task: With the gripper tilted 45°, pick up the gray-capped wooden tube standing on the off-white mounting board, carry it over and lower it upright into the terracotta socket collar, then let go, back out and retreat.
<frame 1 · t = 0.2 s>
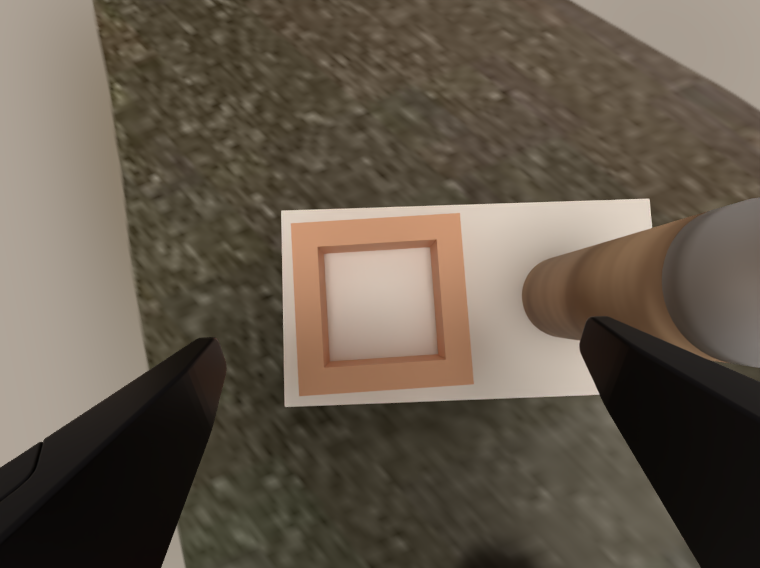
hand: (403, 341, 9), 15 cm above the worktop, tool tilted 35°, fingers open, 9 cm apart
mount board: (466, 300, 24), on the worktop
socket: (380, 303, 22), resting on mount board
gray-capped wooden tube: (562, 296, 22), point 1 cm above the worktop, touching mount board
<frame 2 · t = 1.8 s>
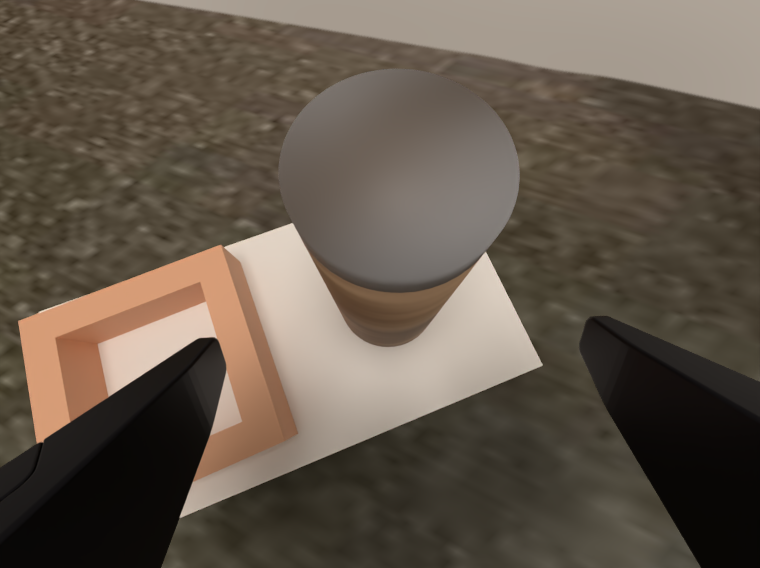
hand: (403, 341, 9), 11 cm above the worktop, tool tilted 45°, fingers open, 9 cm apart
mount board: (291, 341, 20), on the worktop
socket: (177, 379, 18), resting on mount board
gray-capped wooden tube: (387, 299, 19), point 1 cm above the worktop, touching mount board
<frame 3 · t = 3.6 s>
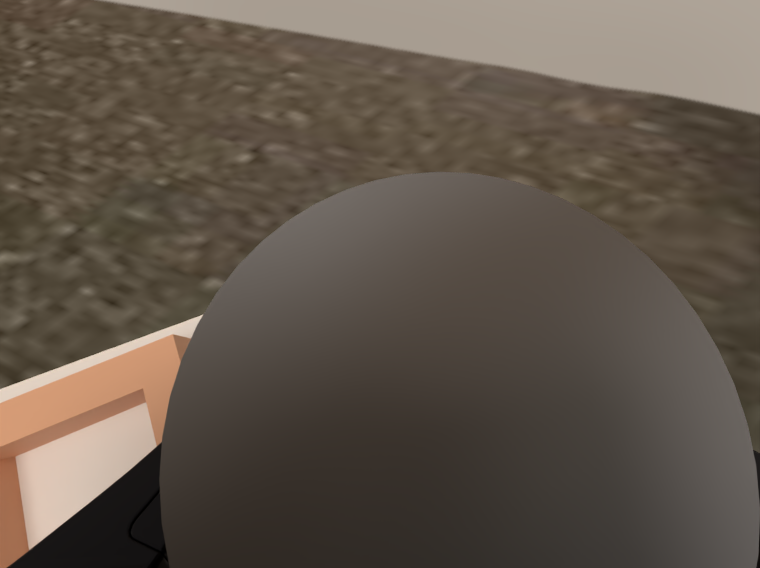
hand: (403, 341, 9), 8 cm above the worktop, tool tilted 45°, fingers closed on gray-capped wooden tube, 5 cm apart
mount board: (271, 443, 15), on the worktop
socket: (118, 507, 14), resting on mount board
gray-capped wooden tube: (396, 393, 15), point 1 cm above the worktop, touching gripper, mount board
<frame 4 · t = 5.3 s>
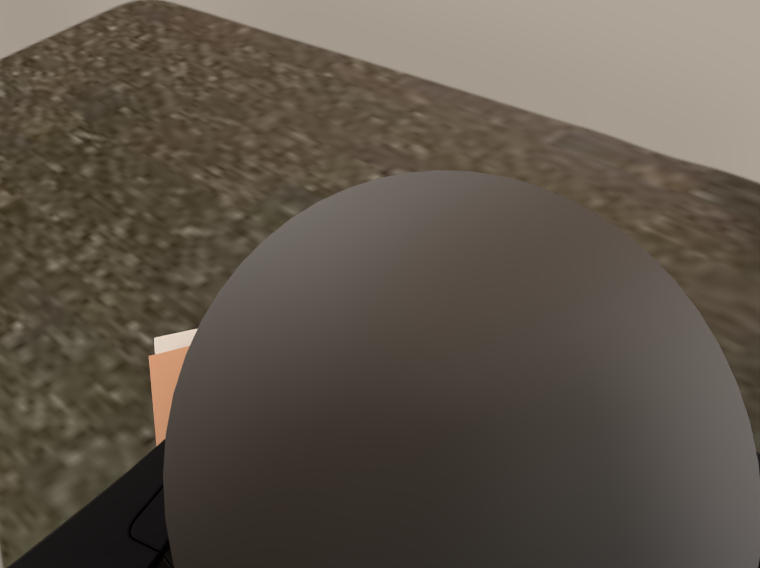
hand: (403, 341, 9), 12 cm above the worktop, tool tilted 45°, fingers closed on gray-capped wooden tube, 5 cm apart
mount board: (382, 399, 20), on the worktop
socket: (277, 425, 19), resting on mount board
gray-capped wooden tube: (396, 392, 15), point 6 cm above the worktop, touching gripper
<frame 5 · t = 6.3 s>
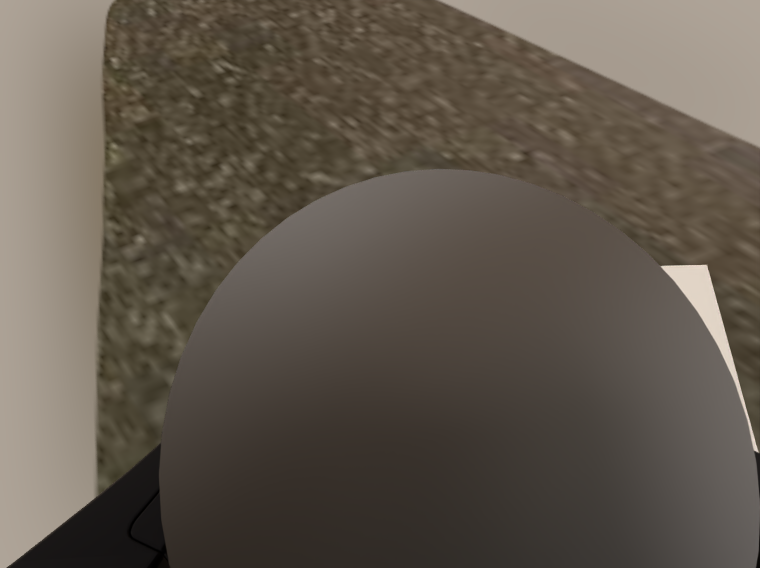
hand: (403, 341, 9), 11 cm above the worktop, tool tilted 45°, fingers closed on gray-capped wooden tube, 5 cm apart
mount board: (498, 385, 19), on the worktop
gray-capped wooden tube: (396, 392, 15), point 5 cm above the worktop, touching gripper
when the fingers open (8 cm above the worktop, at t = 7.2 s): gray-capped wooden tube stays where it is, resting on mount board.
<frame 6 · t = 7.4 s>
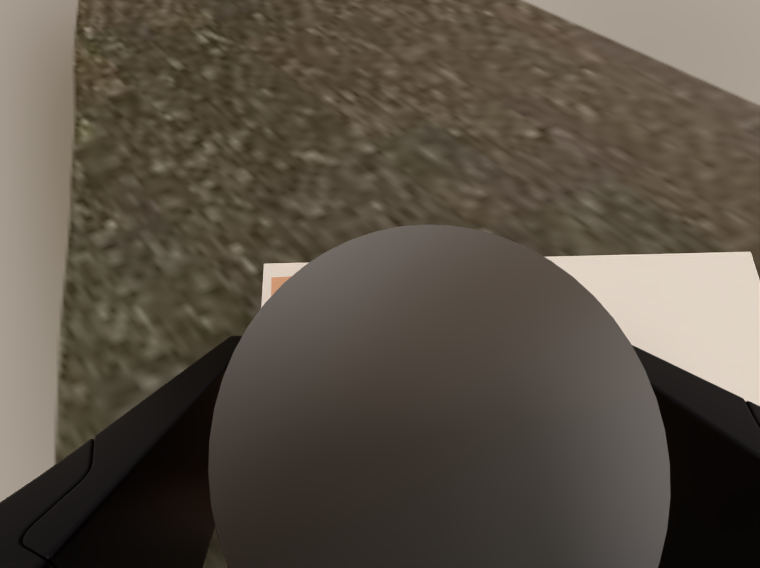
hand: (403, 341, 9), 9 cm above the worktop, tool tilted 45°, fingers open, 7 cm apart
mount board: (515, 388, 17), on the worktop
gray-capped wooden tube: (395, 393, 16), point 1 cm above the worktop, touching mount board
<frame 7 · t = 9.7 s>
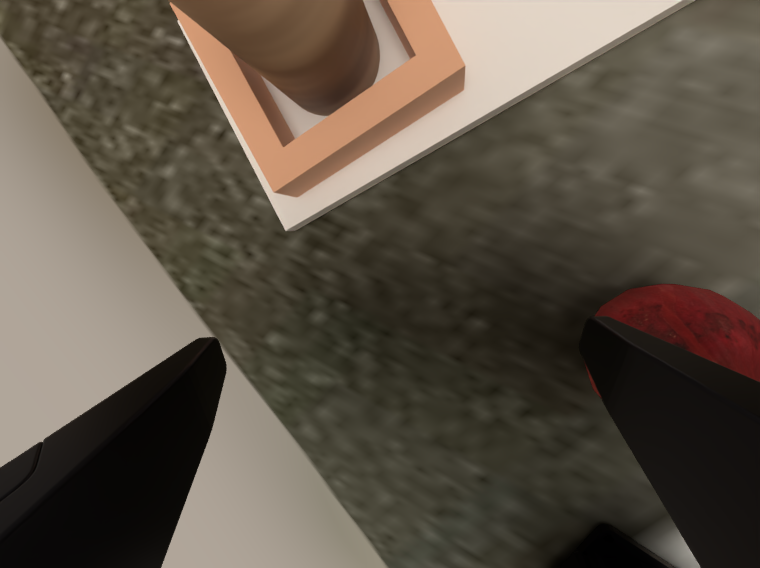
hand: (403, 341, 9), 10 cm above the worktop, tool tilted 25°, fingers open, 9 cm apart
mount board: (435, 2, 17), on the worktop
socket: (328, 60, 17), resting on mount board
gray-capped wooden tube: (328, 60, 17), point 1 cm above the worktop, touching mount board
red oval fruit: (624, 332, 18), on the worktop
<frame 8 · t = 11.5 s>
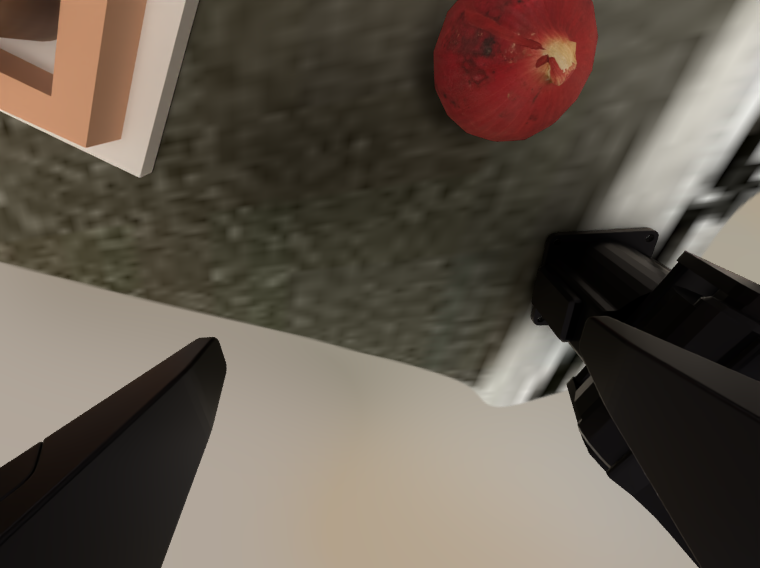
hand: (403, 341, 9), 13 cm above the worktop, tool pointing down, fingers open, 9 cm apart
red oval fruit: (481, 64, 17), on the worktop
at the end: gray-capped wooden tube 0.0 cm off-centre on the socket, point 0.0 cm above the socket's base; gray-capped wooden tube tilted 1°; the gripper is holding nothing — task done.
